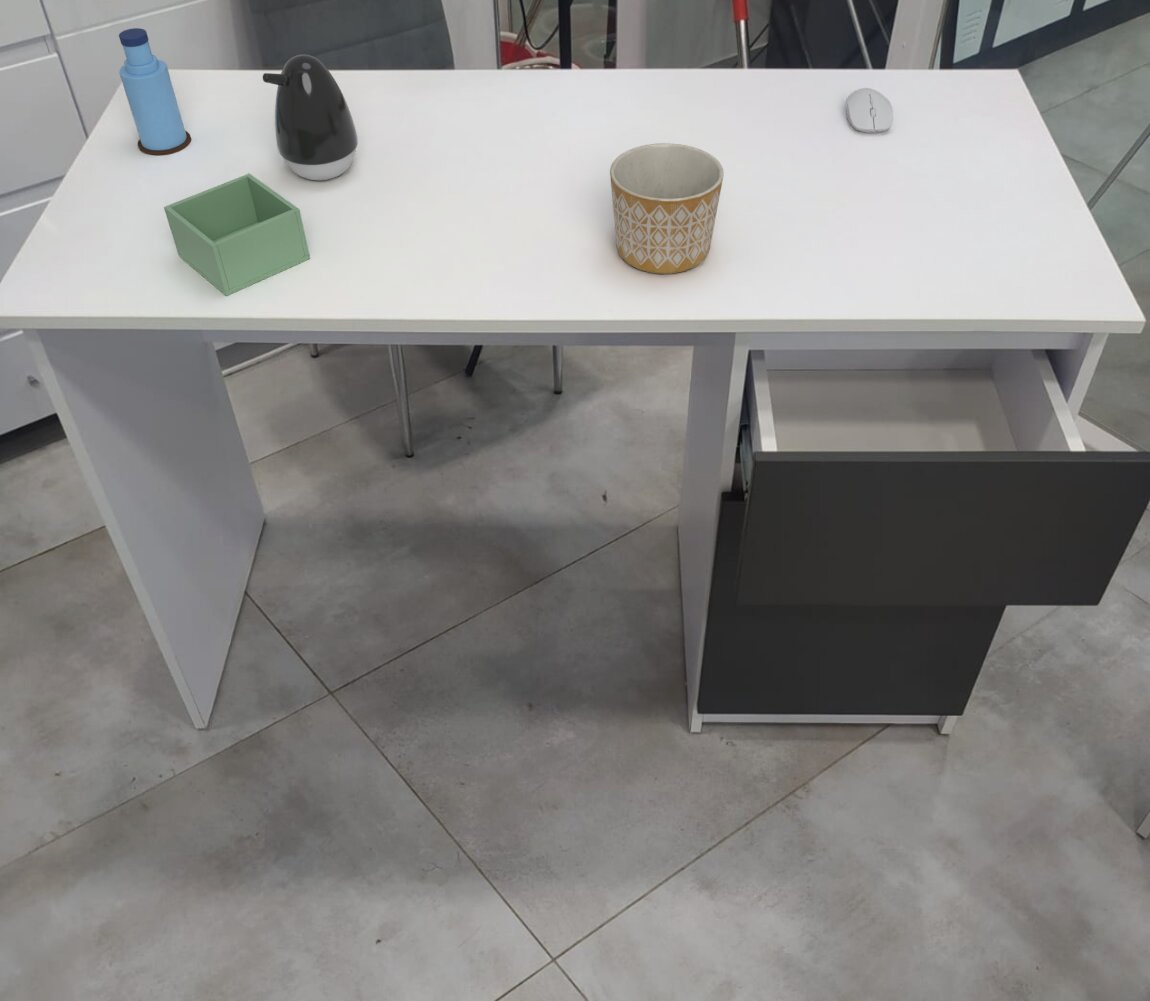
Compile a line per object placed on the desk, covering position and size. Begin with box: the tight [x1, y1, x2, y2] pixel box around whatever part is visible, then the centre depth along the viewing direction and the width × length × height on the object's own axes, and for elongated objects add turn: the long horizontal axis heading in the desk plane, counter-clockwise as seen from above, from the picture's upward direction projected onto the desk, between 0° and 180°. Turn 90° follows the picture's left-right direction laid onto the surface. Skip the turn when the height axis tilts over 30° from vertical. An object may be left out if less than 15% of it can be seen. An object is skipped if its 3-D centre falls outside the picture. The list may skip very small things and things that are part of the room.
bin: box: [163, 173, 311, 297], centre depth 129 cm, size 11×11×7 cm
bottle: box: [118, 27, 187, 150], centre depth 147 cm, size 6×6×14 cm
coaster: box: [137, 130, 192, 156], centre depth 152 cm, size 7×7×1 cm
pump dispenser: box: [262, 54, 359, 181], centre depth 140 cm, size 10×10×15 cm
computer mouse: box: [845, 87, 894, 134], centre depth 153 cm, size 6×10×3 cm, turn 179°
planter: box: [609, 142, 725, 275], centre depth 128 cm, size 13×13×10 cm
